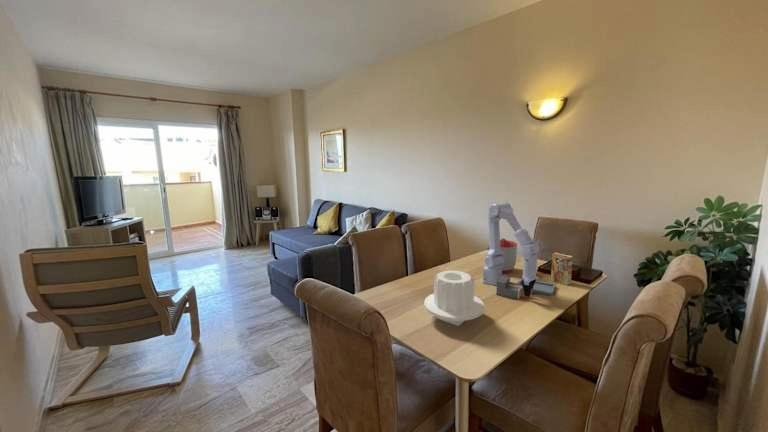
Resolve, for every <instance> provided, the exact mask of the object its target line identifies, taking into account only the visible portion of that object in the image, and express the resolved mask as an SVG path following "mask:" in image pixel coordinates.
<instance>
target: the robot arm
mask: <svg viewBox="0 0 768 432" xmlns="http://www.w3.org/2000/svg"><path fill="white" fill-rule="evenodd" d="M501 219H503V220H505V221H506V222H507V223H508V224H509V226H510V227H511V229H513V231H514V237H515V238H516V239H517V241H518V243H519V244H520V246H521V253H522V257H523V264H522V265H523V269H522V270H523V271H522V278H523V279H524V281H522V282H521V285H522V287H523V290H524V295H525V296H527V297H526V298H528V297H530V294H531V290H533V287H534V283H535V281H538V280H539V278H540V277H539V276H537V267H538V266H537V265H538V254H539V253H540V252H541V246H540V244H539V242H537V241H535V240H534V239H533V238H532V237H531V236H530V234H529V231H528V230H527V229H526V228H525V229H524V228H522V226H521V224H520V223H519V221H518V219H517V217H516V215H515V214H514V208H513V207H512V205H511V204H510V203H509V202H501V203H493V204H491V206H489V207H488V216H487V221H488V222H487V224H488V241H489V242H488V243H489V245H490V250H487V252H486V253H485V259H484V263H485V265H484V267H483V270H482V284H487V285H492V286H497V281H498V279H499V278H500V277H501V276H502V275H503V273H502V267H503V265H504V264H505V262H506V259H505V256H504V252H503V251H502V250H501V249H500V240H501V235H500V220H501ZM489 245H488V246H489Z"/></svg>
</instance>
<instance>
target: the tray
mask: <svg viewBox="0 0 768 432" xmlns="http://www.w3.org/2000/svg"><path fill="white" fill-rule="evenodd" d="M522 281H524V279H523V277H522V278H520V279H519V280H518V282H517V283H518V284H521V282H522ZM556 285H557V284H555V283H551V282H546V281H545V282H544V281H539V280H536V281H535V283H534V287H533V290H532V294H533V293H534V294H538V295H543V296H548V297H553V295H554V292H555V290H556Z"/></svg>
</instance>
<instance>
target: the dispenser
mask: <svg viewBox="0 0 768 432" xmlns="http://www.w3.org/2000/svg"><path fill="white" fill-rule="evenodd" d="M508 284H509V285H514V286H520V287H522V285H521V284H518V282H512V281H511V276H509V275H504V274H502V276H501V277H500V278H499V279H498V281H497V285H496V295H497V296H499V297H500V296H501V297H506V298H511V299H515V300H520V298H521V296H520V295H521V288H516V287H510V286H508Z"/></svg>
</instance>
